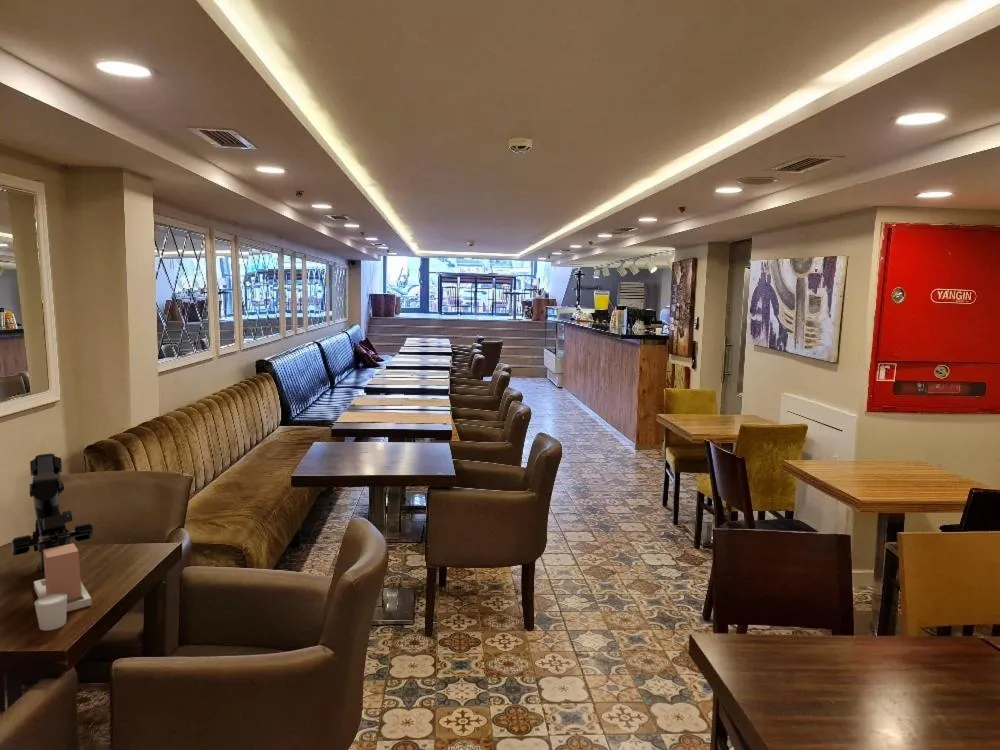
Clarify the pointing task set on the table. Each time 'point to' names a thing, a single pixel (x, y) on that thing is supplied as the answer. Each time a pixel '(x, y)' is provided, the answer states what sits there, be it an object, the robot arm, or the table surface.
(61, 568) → the terracotta block
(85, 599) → the trap board
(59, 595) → the white cup
